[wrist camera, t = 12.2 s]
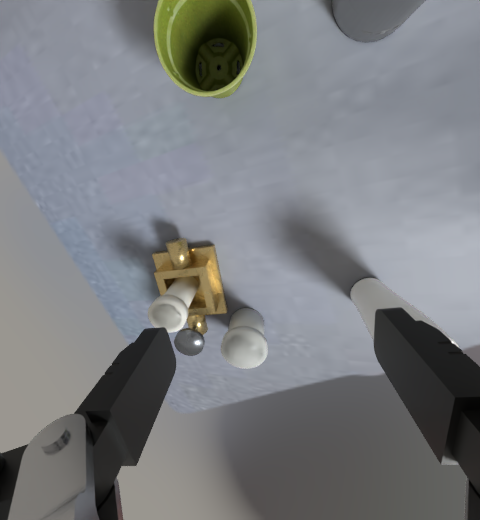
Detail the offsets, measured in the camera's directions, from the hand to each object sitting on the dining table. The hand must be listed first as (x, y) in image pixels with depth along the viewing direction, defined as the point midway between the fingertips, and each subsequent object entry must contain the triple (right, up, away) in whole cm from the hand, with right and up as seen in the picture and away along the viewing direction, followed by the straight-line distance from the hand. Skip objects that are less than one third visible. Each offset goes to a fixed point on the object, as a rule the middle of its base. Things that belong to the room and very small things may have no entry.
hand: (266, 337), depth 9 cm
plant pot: (-4, +27, +21) cm, 34 cm away
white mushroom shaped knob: (-10, -1, +30) cm, 32 cm away
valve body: (-9, -1, +31) cm, 33 cm away
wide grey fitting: (0, -8, +33) cm, 34 cm away
